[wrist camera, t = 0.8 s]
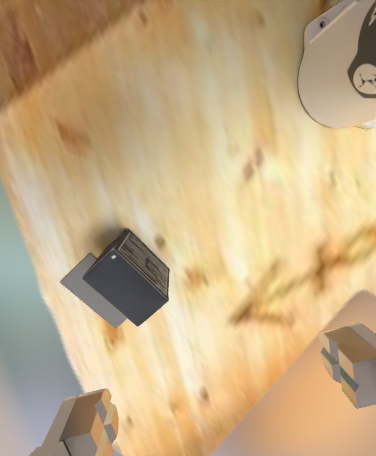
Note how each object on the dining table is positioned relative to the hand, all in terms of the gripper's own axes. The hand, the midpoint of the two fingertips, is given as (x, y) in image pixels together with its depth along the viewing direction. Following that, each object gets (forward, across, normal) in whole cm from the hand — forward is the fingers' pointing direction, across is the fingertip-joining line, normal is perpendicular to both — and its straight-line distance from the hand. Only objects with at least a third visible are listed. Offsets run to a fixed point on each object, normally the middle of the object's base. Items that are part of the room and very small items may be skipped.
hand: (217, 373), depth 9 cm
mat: (+33, +16, +10) cm, 38 cm away
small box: (+33, +9, +6) cm, 35 cm away
